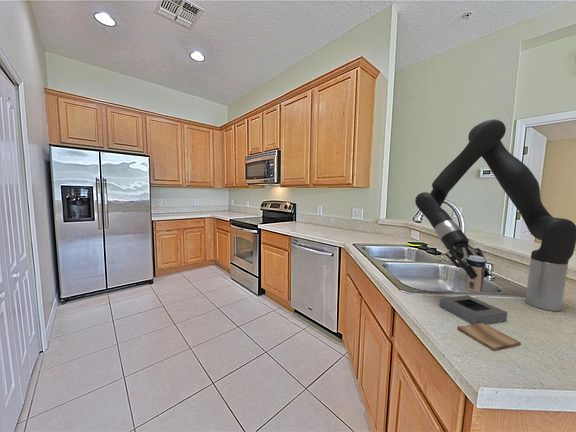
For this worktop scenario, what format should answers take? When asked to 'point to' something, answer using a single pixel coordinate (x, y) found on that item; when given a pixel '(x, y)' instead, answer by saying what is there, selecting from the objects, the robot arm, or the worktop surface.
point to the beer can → (479, 268)
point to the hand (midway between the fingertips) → (480, 276)
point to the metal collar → (481, 315)
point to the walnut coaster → (488, 336)
